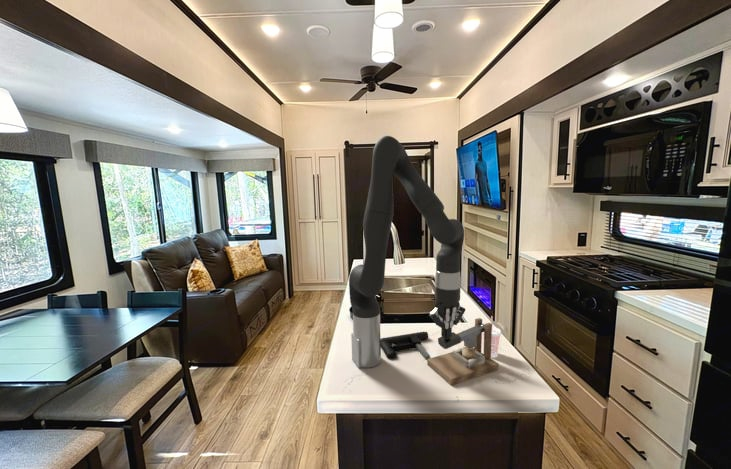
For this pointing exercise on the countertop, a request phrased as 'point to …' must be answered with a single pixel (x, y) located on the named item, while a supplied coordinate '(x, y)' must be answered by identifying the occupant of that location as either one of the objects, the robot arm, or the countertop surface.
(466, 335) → the nutcracker lever
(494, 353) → the beverage cup
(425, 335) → the black toy gun
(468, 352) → the wooden nut
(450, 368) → the nutcracker bench
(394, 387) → the countertop surface
